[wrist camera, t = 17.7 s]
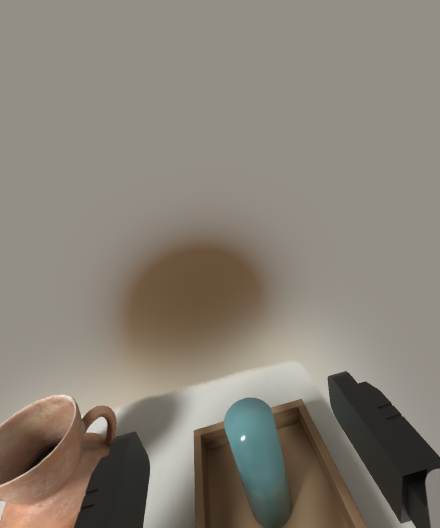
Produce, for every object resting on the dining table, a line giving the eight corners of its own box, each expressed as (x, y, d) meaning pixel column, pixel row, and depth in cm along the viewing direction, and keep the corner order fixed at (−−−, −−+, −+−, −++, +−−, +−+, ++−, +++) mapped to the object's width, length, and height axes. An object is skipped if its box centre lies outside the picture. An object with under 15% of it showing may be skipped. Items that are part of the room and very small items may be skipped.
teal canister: (254, 534, 28) (227, 451, 23) (245, 481, 33) (221, 404, 28) (299, 522, 28) (280, 437, 23) (283, 471, 33) (266, 392, 28)
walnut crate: (211, 657, 22) (198, 637, 21) (201, 449, 39) (193, 430, 37) (391, 599, 23) (391, 575, 21) (304, 419, 40) (301, 399, 38)
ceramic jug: (-5, 623, 27) (-88, 557, 22) (7, 501, 39) (-46, 440, 34) (148, 487, 36) (113, 419, 31) (120, 421, 48) (92, 364, 43)
